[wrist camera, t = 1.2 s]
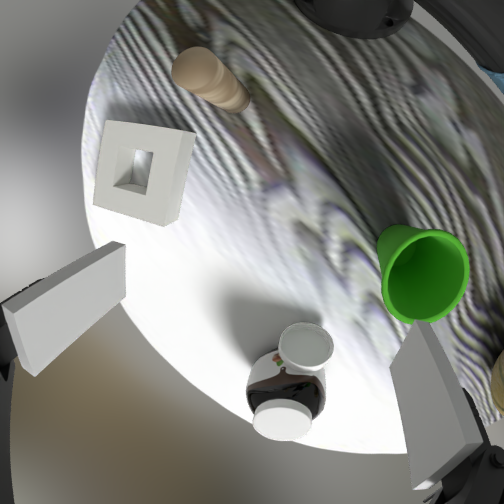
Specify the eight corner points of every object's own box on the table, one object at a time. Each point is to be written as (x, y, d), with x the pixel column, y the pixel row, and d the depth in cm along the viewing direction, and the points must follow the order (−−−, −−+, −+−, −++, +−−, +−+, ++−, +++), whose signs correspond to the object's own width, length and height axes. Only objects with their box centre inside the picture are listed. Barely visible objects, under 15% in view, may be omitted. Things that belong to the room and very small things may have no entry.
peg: (224, 82, 30) (178, 45, 17) (253, 87, 29) (222, 48, 17) (216, 110, 31) (166, 86, 19) (245, 116, 31) (209, 91, 18)
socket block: (123, 121, 33) (105, 119, 29) (196, 133, 32) (183, 130, 28) (110, 199, 37) (92, 204, 33) (178, 219, 36) (163, 226, 32)
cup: (434, 213, 30) (480, 237, 19) (419, 283, 33) (452, 327, 22) (367, 202, 31) (394, 222, 21) (354, 276, 34) (371, 323, 24)
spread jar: (264, 387, 42) (251, 445, 31) (240, 329, 39) (217, 386, 28) (341, 374, 39) (346, 435, 28) (327, 311, 36) (332, 370, 25)
